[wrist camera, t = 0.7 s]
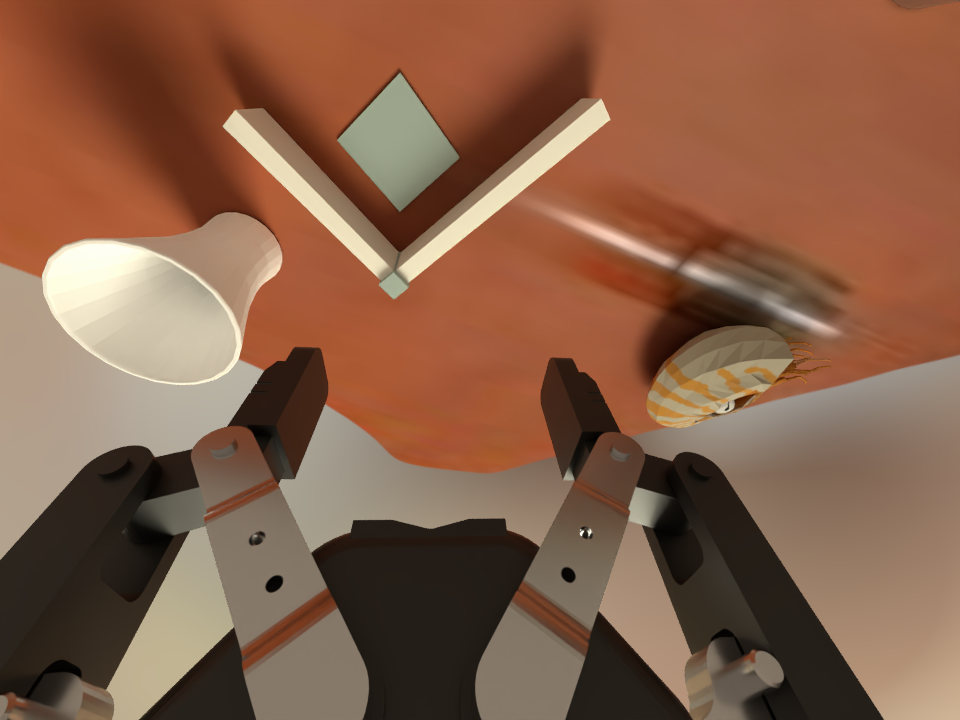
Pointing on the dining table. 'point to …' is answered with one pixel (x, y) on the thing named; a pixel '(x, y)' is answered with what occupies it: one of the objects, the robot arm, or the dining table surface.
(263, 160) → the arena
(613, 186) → the dining table surface
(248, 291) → the cup
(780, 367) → the nautilus
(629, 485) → the robot arm
